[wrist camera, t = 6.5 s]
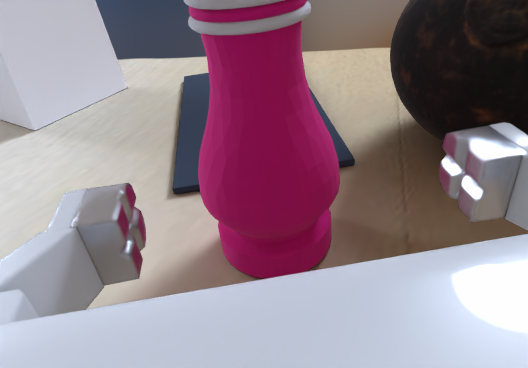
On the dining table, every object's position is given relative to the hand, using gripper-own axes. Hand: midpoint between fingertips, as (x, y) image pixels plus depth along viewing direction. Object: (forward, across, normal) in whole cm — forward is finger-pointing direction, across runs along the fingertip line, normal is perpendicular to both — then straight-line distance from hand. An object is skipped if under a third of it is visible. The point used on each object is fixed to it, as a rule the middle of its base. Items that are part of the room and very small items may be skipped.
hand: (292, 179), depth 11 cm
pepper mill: (+9, 0, +10) cm, 14 cm away
